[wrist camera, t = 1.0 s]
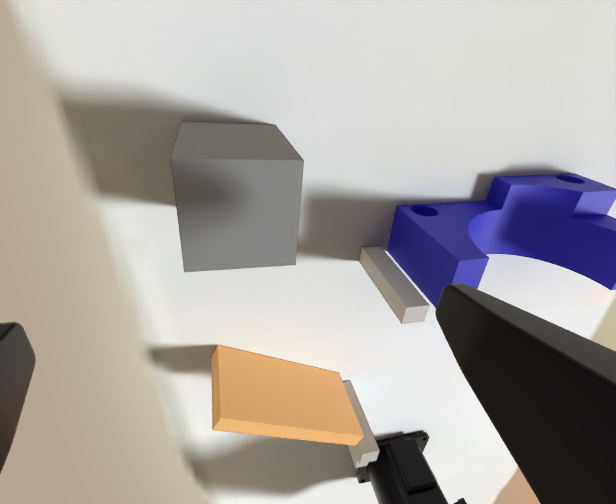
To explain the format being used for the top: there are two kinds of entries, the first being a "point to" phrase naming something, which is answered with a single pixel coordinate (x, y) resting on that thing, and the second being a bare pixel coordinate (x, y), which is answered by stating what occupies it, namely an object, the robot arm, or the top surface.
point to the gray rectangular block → (236, 195)
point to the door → (280, 399)
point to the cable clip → (509, 231)
